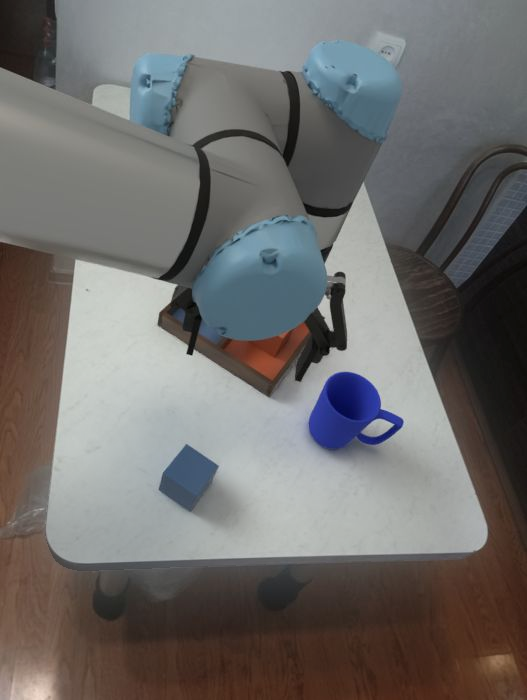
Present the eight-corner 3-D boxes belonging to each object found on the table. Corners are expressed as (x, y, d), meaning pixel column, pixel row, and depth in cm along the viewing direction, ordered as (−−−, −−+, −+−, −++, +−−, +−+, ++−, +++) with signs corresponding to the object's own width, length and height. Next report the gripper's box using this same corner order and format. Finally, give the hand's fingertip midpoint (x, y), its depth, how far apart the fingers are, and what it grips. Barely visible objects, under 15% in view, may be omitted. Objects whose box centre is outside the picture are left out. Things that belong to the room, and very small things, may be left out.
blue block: (158, 489, 69) (162, 473, 65) (181, 460, 72) (186, 443, 68) (190, 512, 68) (196, 496, 64) (212, 482, 71) (219, 465, 67)
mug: (371, 476, 78) (402, 444, 70) (295, 442, 78) (317, 407, 70) (381, 431, 83) (411, 396, 75) (309, 399, 83) (332, 362, 75)
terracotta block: (274, 357, 85) (283, 338, 81) (248, 341, 86) (255, 321, 82) (288, 339, 88) (298, 319, 85) (263, 323, 89) (271, 303, 85)
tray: (157, 324, 84) (159, 312, 82) (219, 266, 96) (222, 254, 93) (269, 397, 81) (274, 386, 79) (319, 328, 93) (325, 317, 90)
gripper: (418, 237, 54) (341, 360, 70) (174, 166, 51) (152, 312, 67) (424, 289, 49) (340, 408, 65) (155, 214, 46) (137, 359, 62)
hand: (245, 359), depth 66 cm, fingers open, 13 cm apart
